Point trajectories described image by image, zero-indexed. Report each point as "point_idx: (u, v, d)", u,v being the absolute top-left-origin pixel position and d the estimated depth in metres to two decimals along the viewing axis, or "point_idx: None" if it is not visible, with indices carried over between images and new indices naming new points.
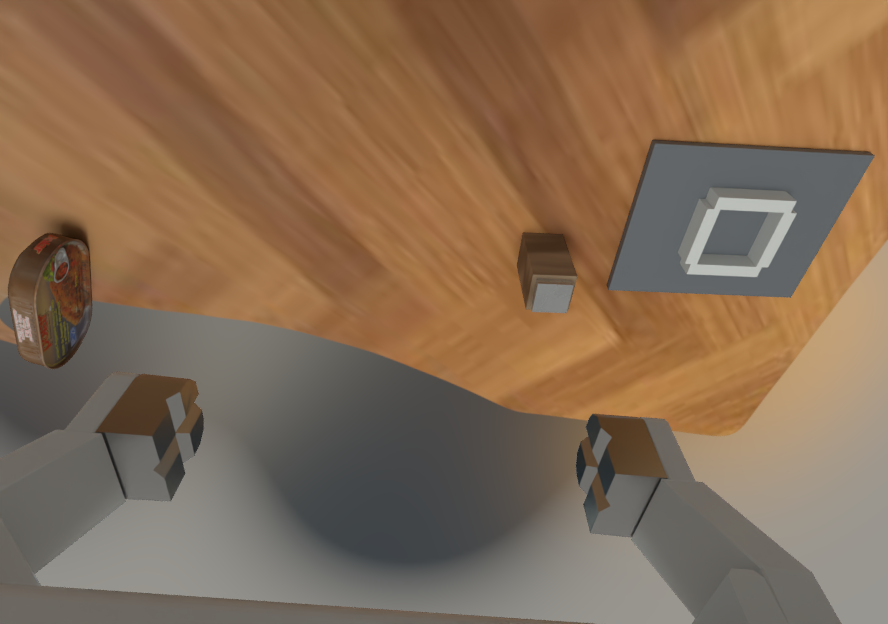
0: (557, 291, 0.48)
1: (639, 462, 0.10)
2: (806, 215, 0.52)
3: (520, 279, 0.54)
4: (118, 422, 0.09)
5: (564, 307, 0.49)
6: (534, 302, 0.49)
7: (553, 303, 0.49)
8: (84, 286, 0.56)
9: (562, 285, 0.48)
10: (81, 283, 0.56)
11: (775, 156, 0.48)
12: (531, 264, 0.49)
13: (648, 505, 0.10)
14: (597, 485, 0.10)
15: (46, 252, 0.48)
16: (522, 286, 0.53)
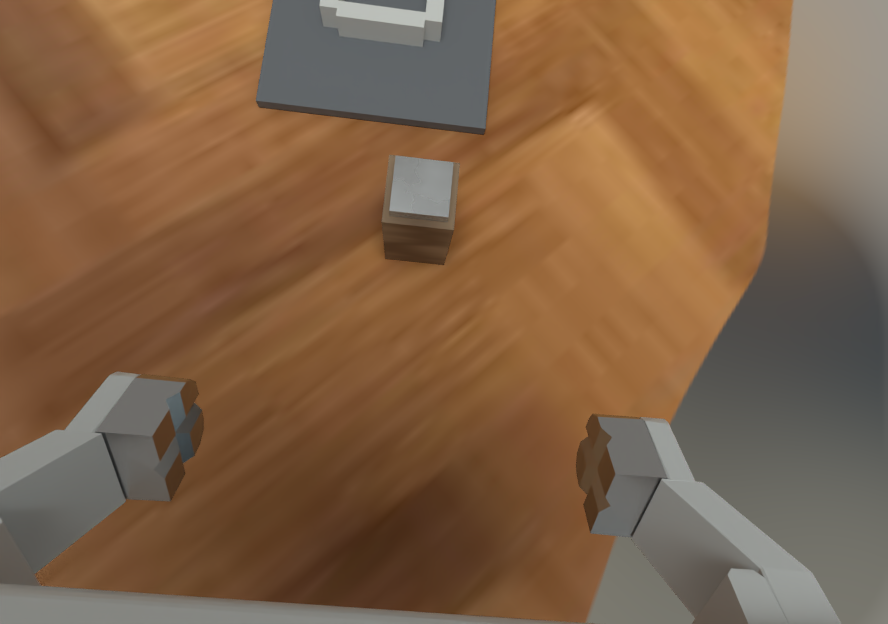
0: (407, 179, 0.29)
1: (639, 462, 0.10)
2: None
3: (443, 252, 0.34)
4: (118, 422, 0.09)
5: (441, 166, 0.30)
6: (429, 214, 0.29)
7: (432, 184, 0.29)
8: None
9: (395, 172, 0.29)
10: None
11: None
12: (382, 230, 0.31)
13: (648, 504, 0.10)
14: (597, 485, 0.10)
15: None
16: (443, 246, 0.33)
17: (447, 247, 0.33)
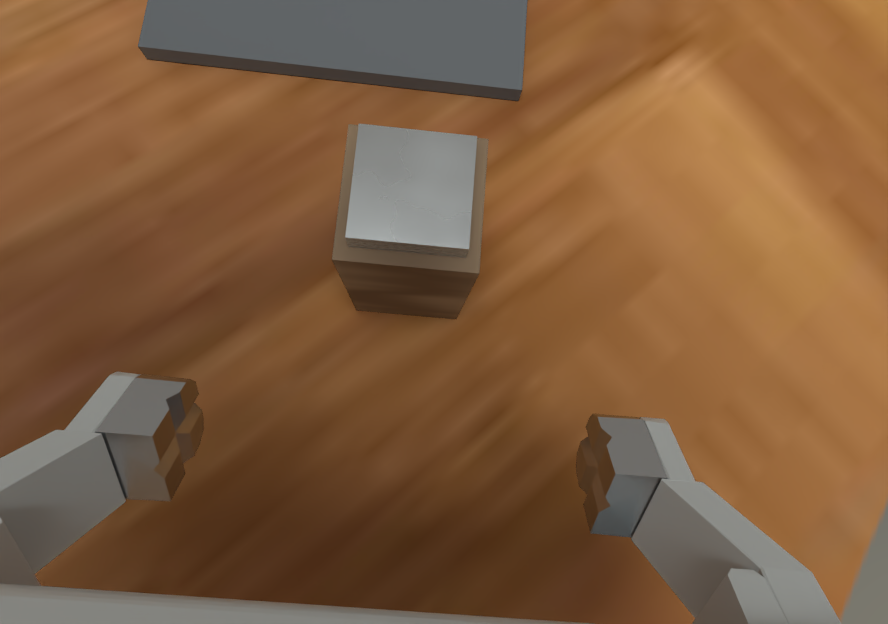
0: (382, 171, 0.14)
1: (639, 462, 0.10)
2: None
3: (455, 305, 0.19)
4: (119, 422, 0.09)
5: (453, 144, 0.14)
6: (429, 243, 0.14)
7: (434, 180, 0.14)
8: None
9: (359, 157, 0.14)
10: None
11: None
12: None
13: (648, 505, 0.10)
14: (597, 485, 0.10)
15: None
16: (456, 296, 0.18)
17: (464, 298, 0.18)
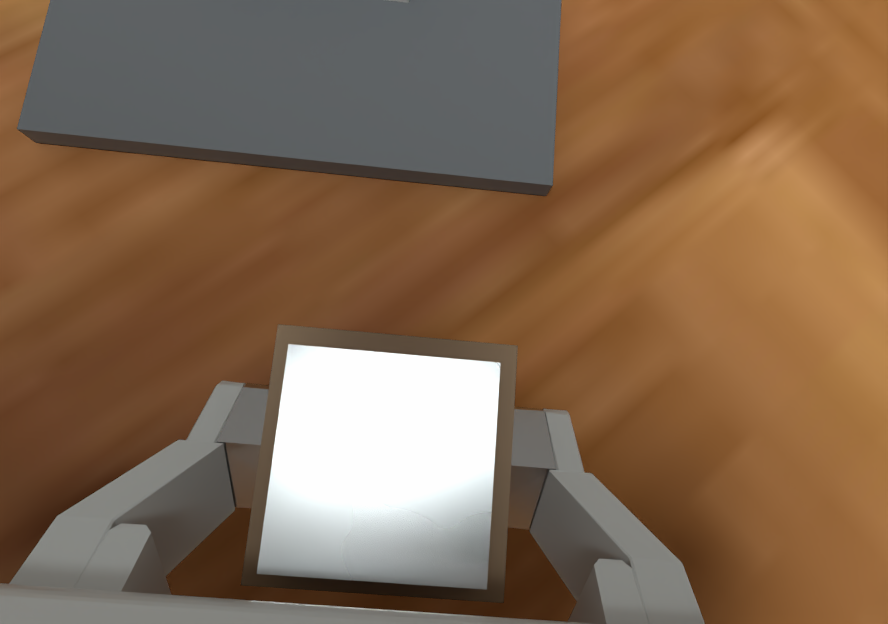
0: (329, 437, 0.08)
1: (530, 453, 0.10)
2: None
3: None
4: (236, 432, 0.09)
5: (457, 378, 0.08)
6: (413, 579, 0.08)
7: (424, 451, 0.08)
8: None
9: (286, 411, 0.08)
10: None
11: None
12: None
13: (541, 496, 0.10)
14: None
15: None
16: None
17: None
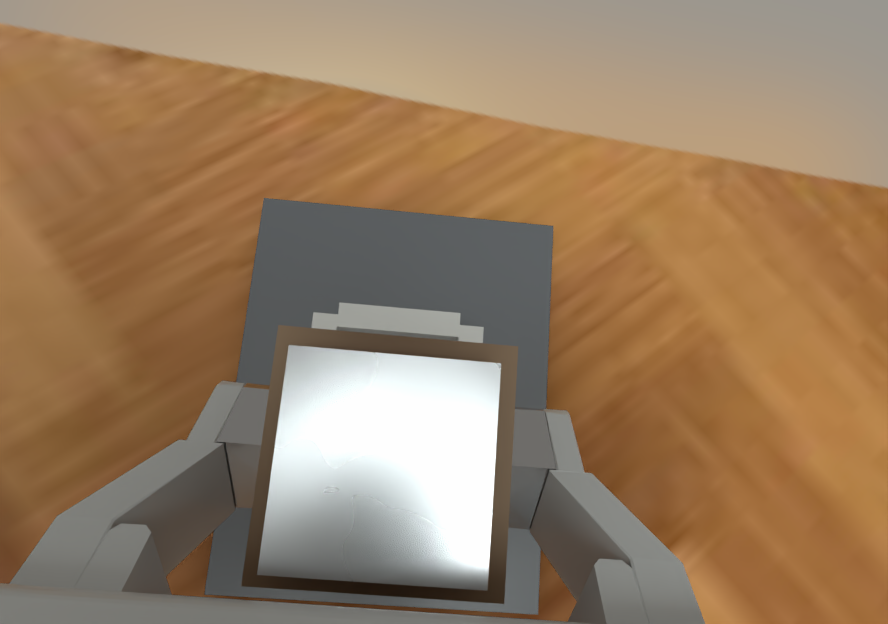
0: (330, 438, 0.08)
1: (530, 453, 0.10)
2: (371, 265, 0.29)
3: None
4: (237, 432, 0.09)
5: (458, 379, 0.08)
6: (413, 580, 0.08)
7: (424, 452, 0.08)
8: None
9: (287, 412, 0.08)
10: None
11: (250, 361, 0.28)
12: None
13: (541, 496, 0.10)
14: None
15: None
16: None
17: None
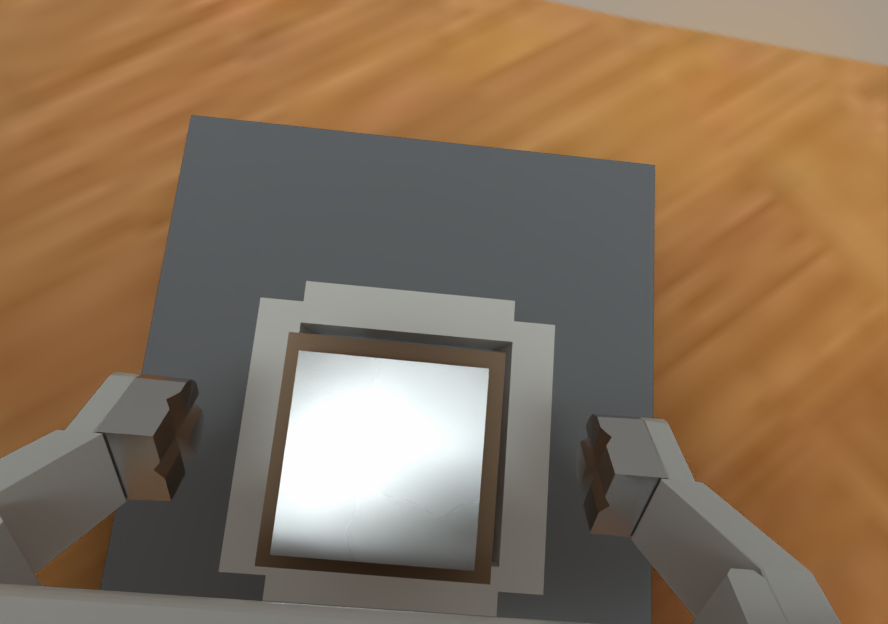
0: (335, 434, 0.09)
1: (639, 462, 0.10)
2: (364, 223, 0.18)
3: None
4: (119, 422, 0.09)
5: (450, 383, 0.09)
6: (408, 560, 0.09)
7: (419, 448, 0.09)
8: None
9: (297, 410, 0.09)
10: None
11: None
12: None
13: (648, 504, 0.10)
14: (597, 485, 0.10)
15: None
16: None
17: None
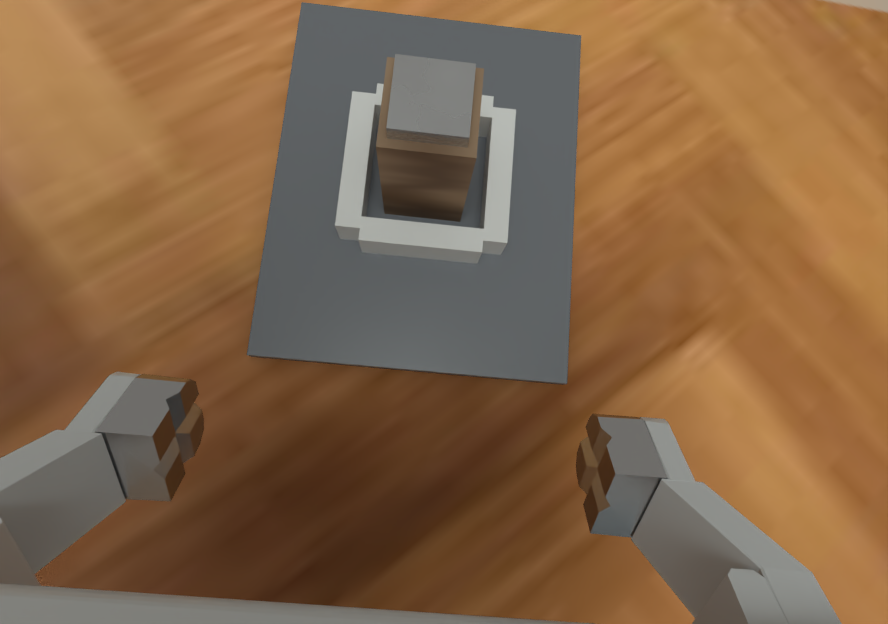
0: (411, 85, 0.21)
1: (639, 462, 0.10)
2: None
3: (460, 201, 0.26)
4: (118, 422, 0.09)
5: (459, 68, 0.21)
6: (442, 133, 0.21)
7: (446, 92, 0.21)
8: None
9: (395, 76, 0.21)
10: None
11: (289, 148, 0.29)
12: None
13: (648, 505, 0.10)
14: (597, 485, 0.10)
15: None
16: (460, 189, 0.24)
17: (466, 191, 0.25)
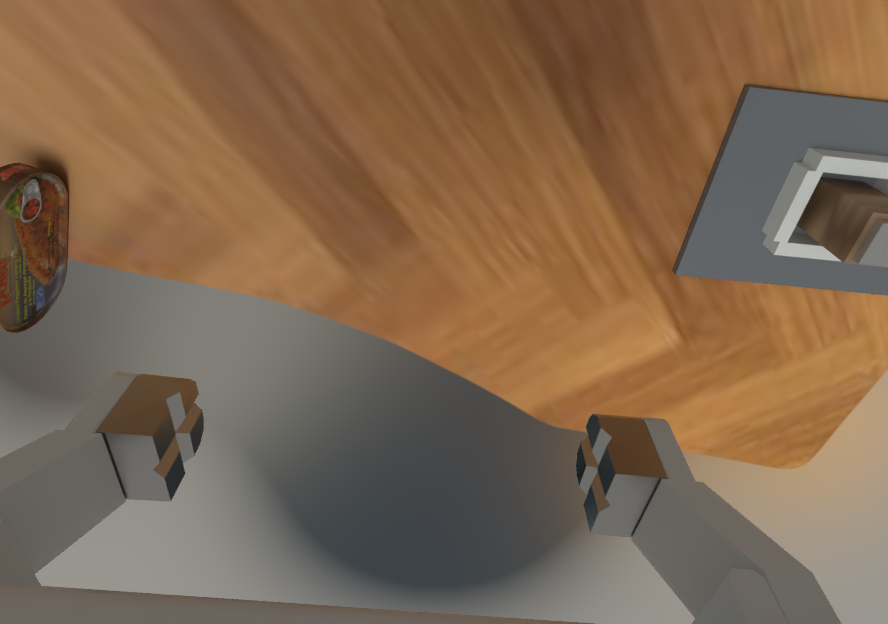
0: None
1: (639, 462, 0.10)
2: None
3: (811, 233, 0.43)
4: (118, 422, 0.09)
5: None
6: (866, 250, 0.38)
7: None
8: (60, 238, 0.48)
9: None
10: (56, 234, 0.47)
11: None
12: (860, 203, 0.39)
13: (648, 504, 0.10)
14: (597, 485, 0.10)
15: (13, 179, 0.40)
16: (822, 239, 0.42)
17: (819, 241, 0.42)
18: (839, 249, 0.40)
